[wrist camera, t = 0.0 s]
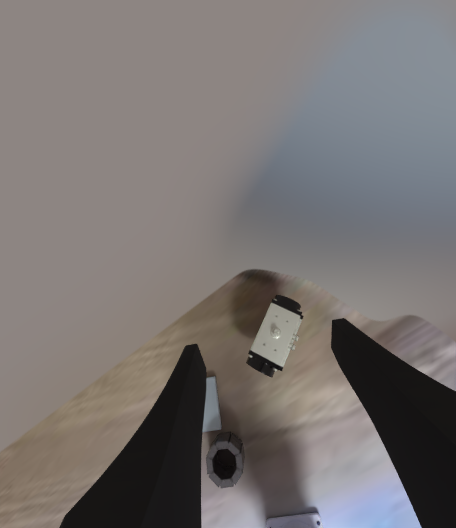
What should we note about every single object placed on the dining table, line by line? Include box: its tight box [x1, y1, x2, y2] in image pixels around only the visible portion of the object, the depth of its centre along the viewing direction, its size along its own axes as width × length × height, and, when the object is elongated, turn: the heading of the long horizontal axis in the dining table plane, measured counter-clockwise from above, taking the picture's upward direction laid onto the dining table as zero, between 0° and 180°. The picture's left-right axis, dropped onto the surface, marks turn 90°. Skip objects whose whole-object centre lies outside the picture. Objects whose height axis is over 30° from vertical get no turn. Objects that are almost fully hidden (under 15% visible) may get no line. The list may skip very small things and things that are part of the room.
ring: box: [206, 432, 245, 488], centre depth 35 cm, size 5×5×4 cm
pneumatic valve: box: [246, 295, 303, 377], centre depth 36 cm, size 6×12×12 cm, turn 153°
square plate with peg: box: [202, 376, 222, 432], centre depth 38 cm, size 8×8×4 cm
